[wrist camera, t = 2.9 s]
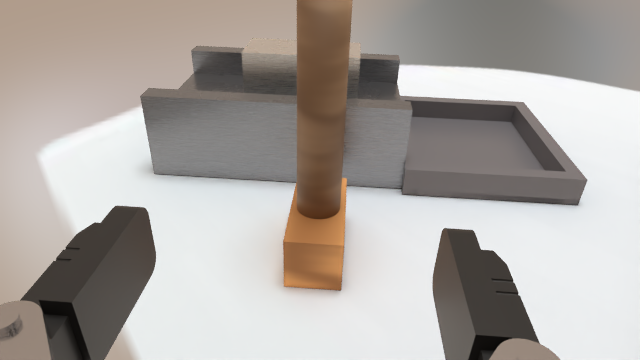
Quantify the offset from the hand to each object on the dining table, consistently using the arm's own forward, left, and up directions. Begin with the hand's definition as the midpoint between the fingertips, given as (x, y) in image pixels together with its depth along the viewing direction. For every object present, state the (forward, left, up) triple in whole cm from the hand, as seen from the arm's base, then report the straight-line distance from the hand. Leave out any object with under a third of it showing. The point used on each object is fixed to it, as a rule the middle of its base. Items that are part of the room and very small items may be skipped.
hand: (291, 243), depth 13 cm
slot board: (-9, -23, -9) cm, 27 cm away
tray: (-22, -16, -9) cm, 29 cm away
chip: (-9, -24, -5) cm, 26 cm away
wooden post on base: (-6, -10, -9) cm, 15 cm away
